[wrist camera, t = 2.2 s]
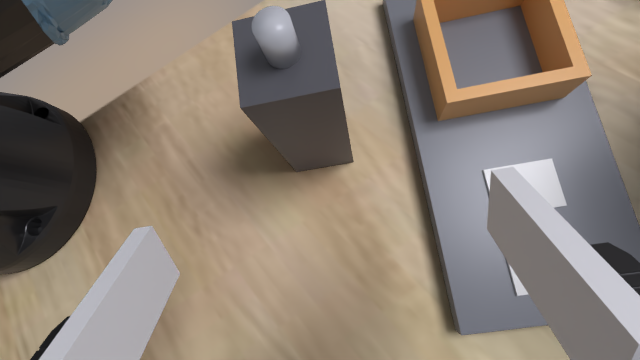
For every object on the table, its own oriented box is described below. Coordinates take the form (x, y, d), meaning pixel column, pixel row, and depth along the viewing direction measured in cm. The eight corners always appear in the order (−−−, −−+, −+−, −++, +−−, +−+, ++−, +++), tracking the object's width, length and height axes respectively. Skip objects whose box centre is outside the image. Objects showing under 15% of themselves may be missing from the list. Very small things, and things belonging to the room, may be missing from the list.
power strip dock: (455, 330, 23) (475, 348, 18) (382, 3, 29) (385, -42, 24) (649, 306, 21) (721, 319, 17) (530, -30, 27) (561, -84, 23)
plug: (296, 172, 27) (221, 86, 13) (289, 119, 28) (213, -11, 14) (353, 161, 26) (335, 62, 13) (344, 108, 27) (318, -37, 14)
